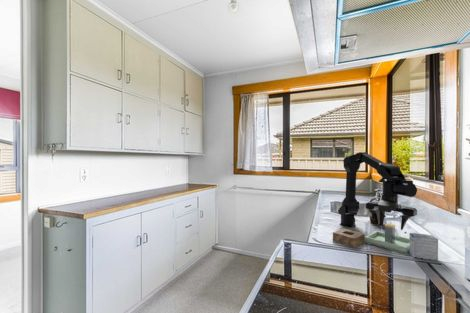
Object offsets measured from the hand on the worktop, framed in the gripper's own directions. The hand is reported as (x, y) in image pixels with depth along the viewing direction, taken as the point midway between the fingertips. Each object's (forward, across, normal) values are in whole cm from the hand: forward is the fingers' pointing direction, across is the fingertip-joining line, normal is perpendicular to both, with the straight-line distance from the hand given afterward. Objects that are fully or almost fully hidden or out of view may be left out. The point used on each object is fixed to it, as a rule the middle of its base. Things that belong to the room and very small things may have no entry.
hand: (389, 227), depth 103 cm
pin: (+7, 0, 0) cm, 7 cm away
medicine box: (+8, +13, -5) cm, 16 cm away
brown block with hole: (+8, -13, -12) cm, 19 cm away
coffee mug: (+8, -15, +28) cm, 33 cm away
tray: (+8, 0, 0) cm, 8 cm away
